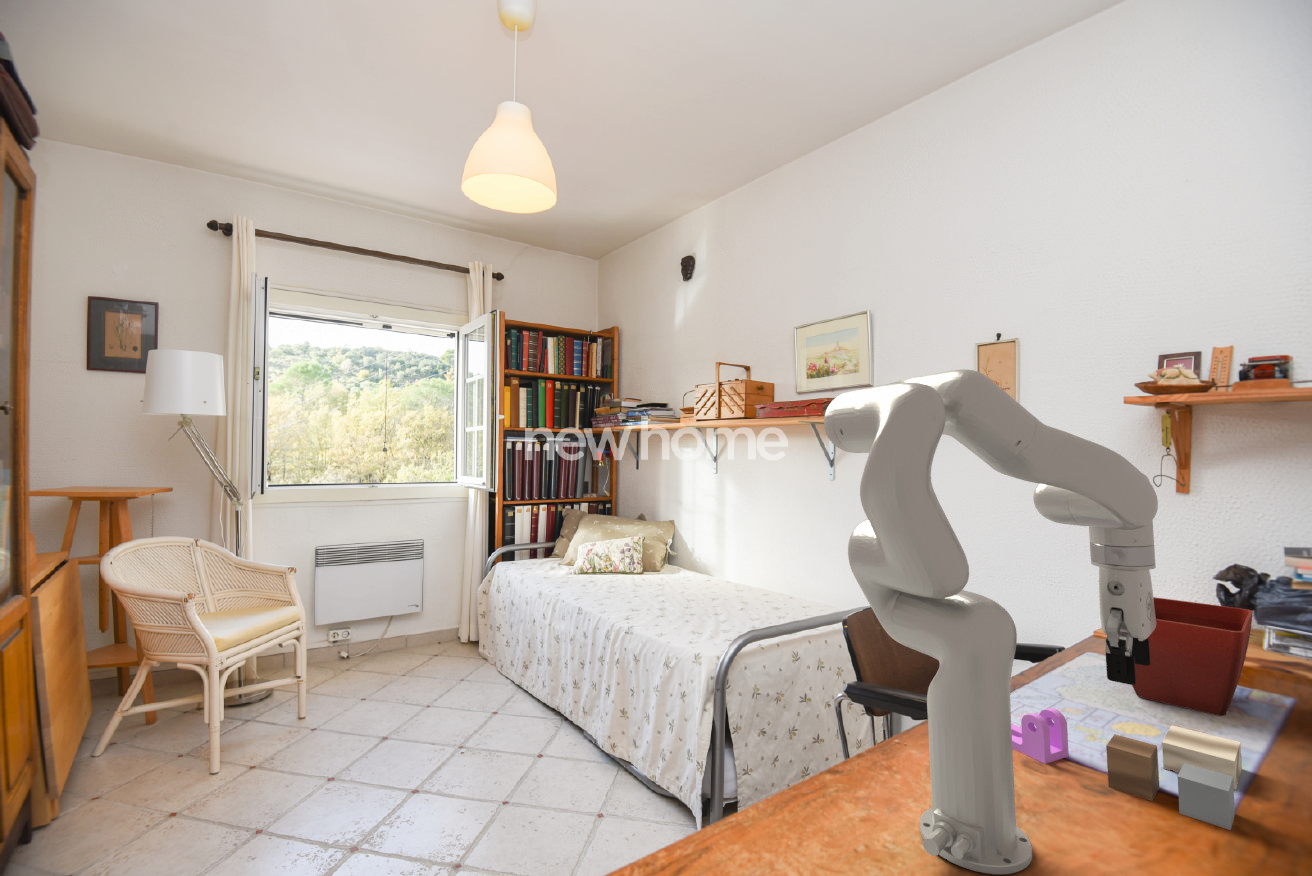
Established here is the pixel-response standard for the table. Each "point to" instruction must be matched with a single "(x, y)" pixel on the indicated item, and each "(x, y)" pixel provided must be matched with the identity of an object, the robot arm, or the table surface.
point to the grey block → (1206, 795)
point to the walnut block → (1133, 766)
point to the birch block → (1201, 752)
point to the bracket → (1042, 736)
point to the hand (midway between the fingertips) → (1129, 672)
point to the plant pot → (1195, 655)
